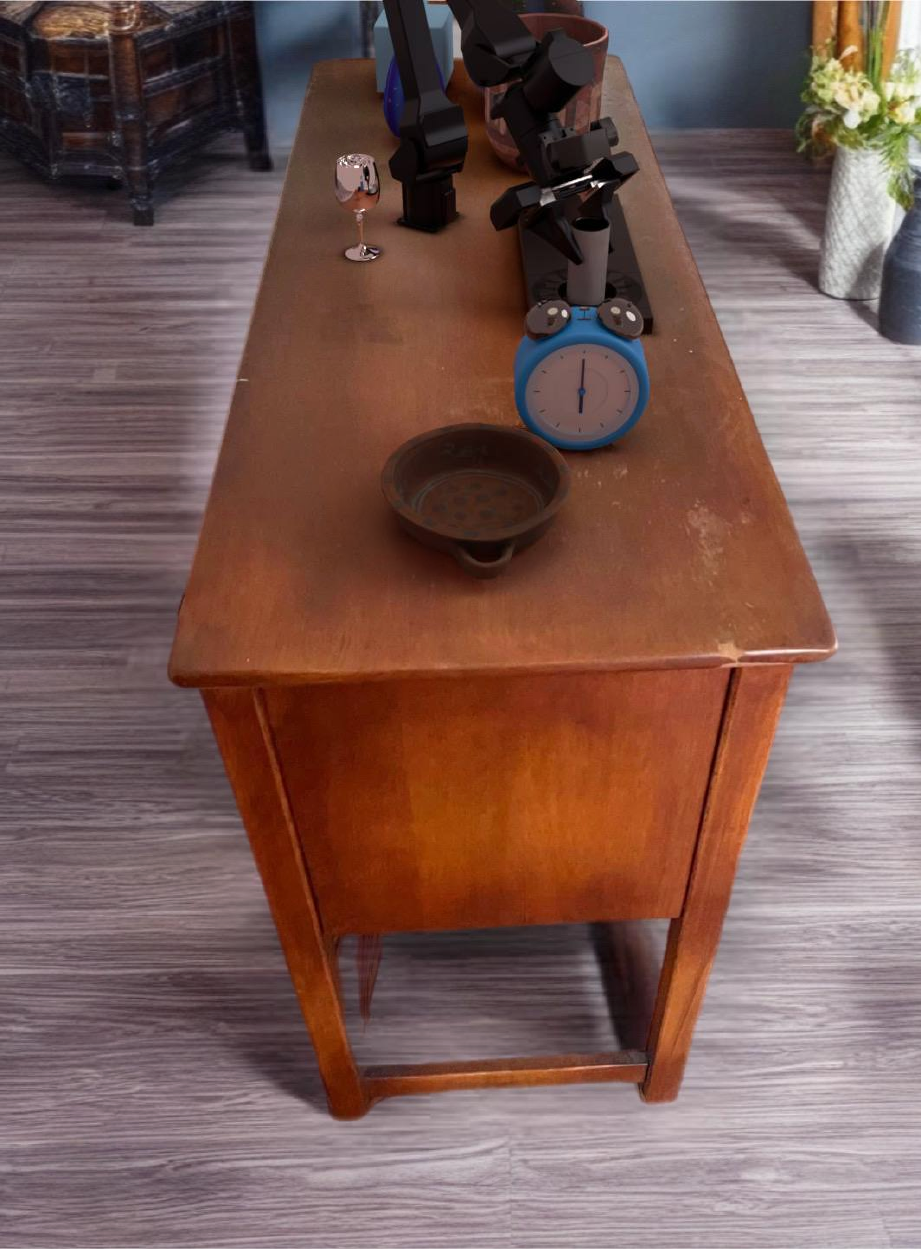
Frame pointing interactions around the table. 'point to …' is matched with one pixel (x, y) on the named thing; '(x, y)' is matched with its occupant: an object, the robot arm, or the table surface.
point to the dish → (476, 491)
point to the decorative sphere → (528, 3)
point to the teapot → (440, 35)
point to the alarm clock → (581, 373)
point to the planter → (589, 261)
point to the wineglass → (357, 195)
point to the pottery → (581, 107)
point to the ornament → (396, 97)
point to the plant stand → (551, 266)
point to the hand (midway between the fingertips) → (595, 258)
